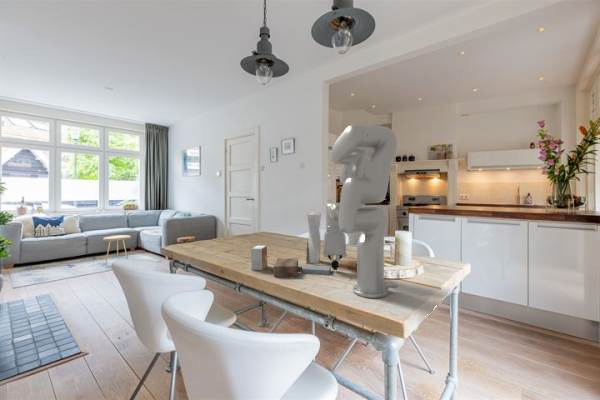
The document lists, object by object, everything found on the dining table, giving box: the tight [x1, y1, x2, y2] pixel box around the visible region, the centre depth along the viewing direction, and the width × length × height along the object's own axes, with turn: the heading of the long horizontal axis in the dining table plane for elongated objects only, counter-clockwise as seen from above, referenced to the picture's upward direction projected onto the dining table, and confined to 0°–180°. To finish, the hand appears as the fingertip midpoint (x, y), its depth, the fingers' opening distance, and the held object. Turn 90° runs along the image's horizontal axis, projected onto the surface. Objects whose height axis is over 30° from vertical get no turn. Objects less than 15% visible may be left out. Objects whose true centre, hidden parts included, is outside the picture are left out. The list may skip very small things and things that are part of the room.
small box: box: [250, 244, 268, 271], centre depth 133 cm, size 8×6×10 cm
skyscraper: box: [305, 208, 322, 265], centre depth 143 cm, size 8×8×28 cm
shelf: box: [273, 258, 303, 278], centre depth 125 cm, size 12×14×5 cm
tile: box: [302, 264, 332, 276], centre depth 125 cm, size 12×6×2 cm, turn 75°
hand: (335, 269), depth 125 cm, fingers closed
